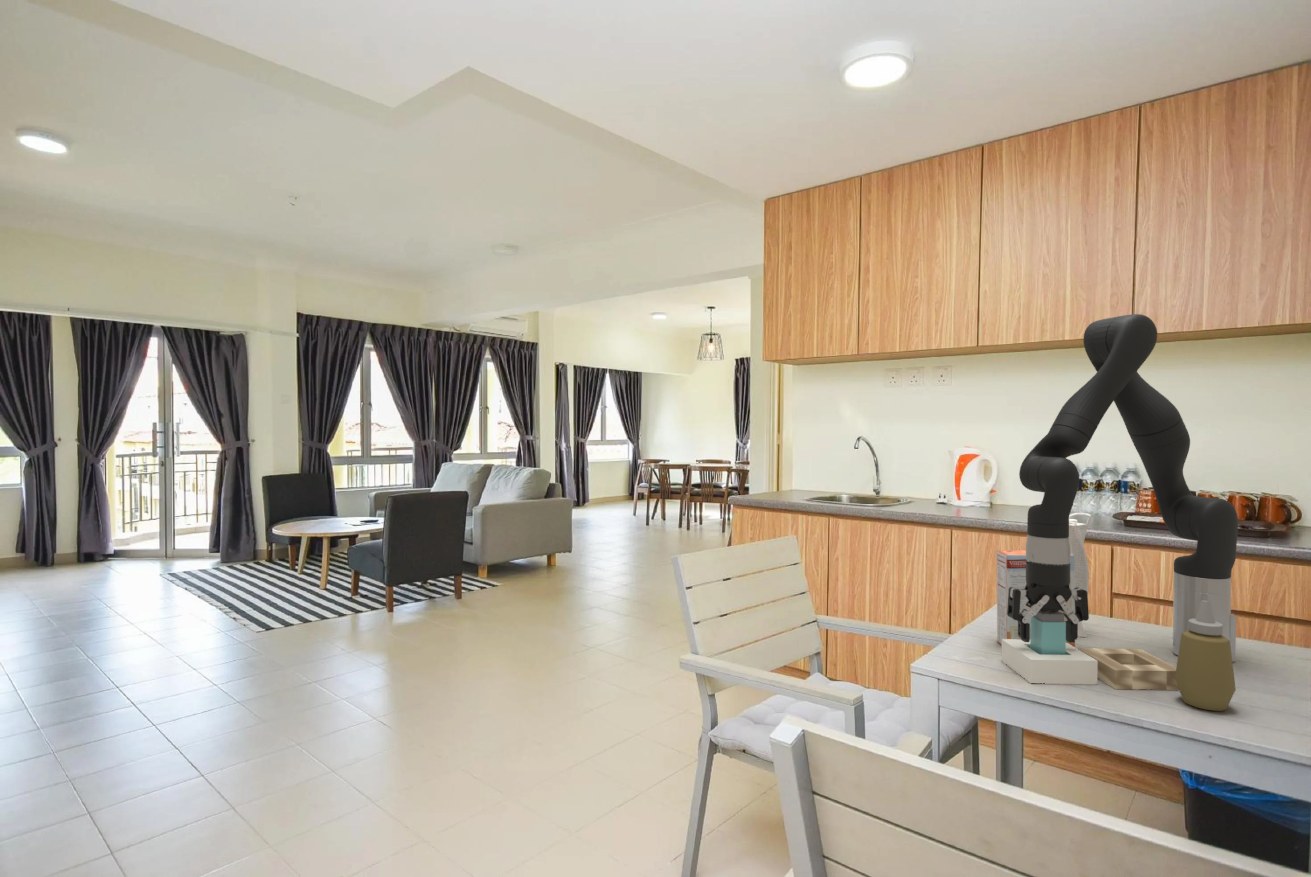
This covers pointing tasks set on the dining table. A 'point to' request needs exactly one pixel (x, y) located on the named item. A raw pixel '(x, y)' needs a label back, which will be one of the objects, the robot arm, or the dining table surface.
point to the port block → (1049, 664)
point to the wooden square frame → (1132, 669)
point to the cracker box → (1014, 575)
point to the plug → (1048, 633)
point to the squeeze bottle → (1205, 663)
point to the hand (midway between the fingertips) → (1047, 641)
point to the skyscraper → (1079, 558)
